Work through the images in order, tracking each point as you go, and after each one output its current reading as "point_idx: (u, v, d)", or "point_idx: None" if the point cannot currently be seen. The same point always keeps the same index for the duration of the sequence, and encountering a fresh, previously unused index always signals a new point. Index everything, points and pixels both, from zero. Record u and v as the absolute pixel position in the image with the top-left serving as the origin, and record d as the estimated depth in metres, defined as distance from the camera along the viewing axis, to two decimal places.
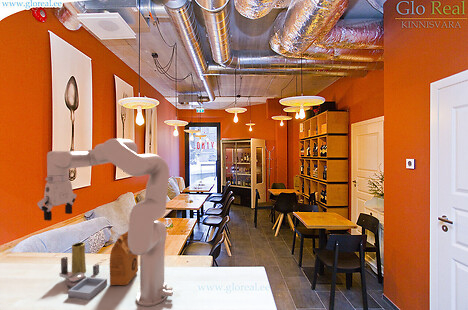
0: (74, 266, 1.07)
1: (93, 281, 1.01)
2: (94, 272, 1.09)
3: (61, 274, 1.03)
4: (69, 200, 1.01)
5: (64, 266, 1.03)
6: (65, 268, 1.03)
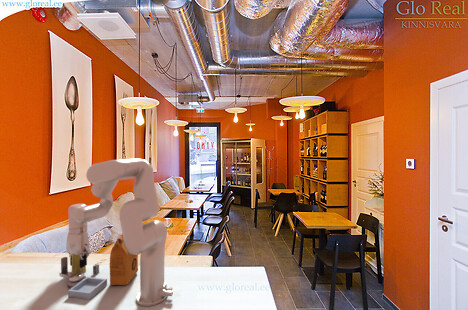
0: (74, 266, 1.07)
1: (93, 281, 1.01)
2: (94, 272, 1.09)
3: (61, 274, 1.03)
4: (76, 253, 1.06)
5: (64, 266, 1.03)
6: (65, 268, 1.03)
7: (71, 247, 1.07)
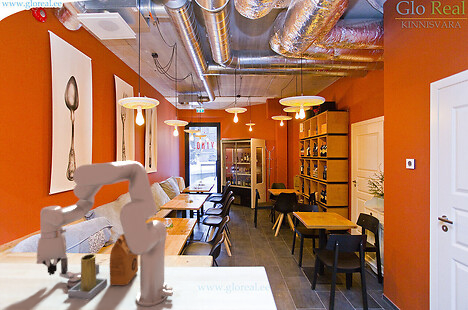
0: (82, 282, 0.94)
1: None
2: None
3: (61, 274, 1.03)
4: None
5: (64, 266, 1.03)
6: (65, 268, 1.03)
7: None
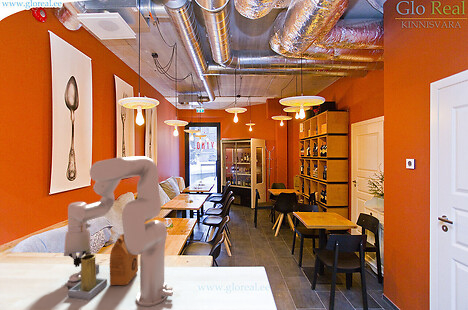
0: (82, 282, 0.94)
1: None
2: None
3: None
4: None
5: None
6: None
7: None
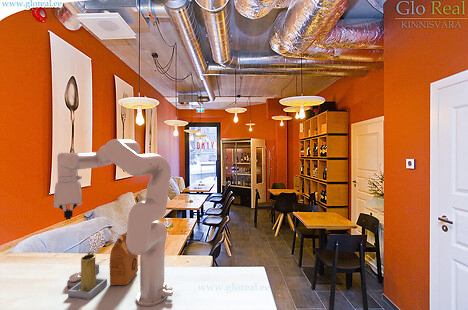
0: (82, 282, 0.94)
1: None
2: None
3: None
4: None
5: None
6: None
7: None
